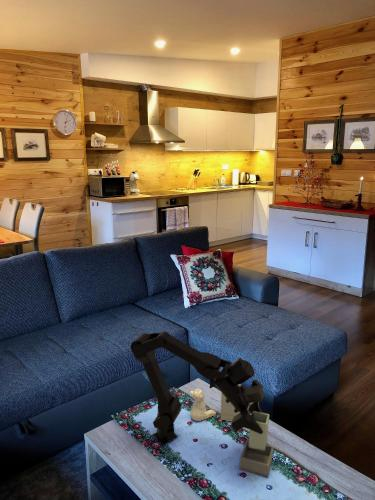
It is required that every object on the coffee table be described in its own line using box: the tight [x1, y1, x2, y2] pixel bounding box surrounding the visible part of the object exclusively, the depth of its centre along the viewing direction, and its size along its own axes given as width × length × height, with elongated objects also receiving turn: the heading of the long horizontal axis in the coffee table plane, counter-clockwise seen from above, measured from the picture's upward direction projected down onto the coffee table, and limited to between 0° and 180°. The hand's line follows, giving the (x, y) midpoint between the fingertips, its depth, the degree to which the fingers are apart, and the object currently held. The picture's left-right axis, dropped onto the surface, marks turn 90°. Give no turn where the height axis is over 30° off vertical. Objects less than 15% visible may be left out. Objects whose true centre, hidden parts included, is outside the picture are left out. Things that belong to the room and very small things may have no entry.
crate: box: [239, 438, 274, 479], centre depth 131 cm, size 9×9×4 cm
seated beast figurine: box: [190, 388, 217, 422], centre depth 153 cm, size 10×9×12 cm
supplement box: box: [220, 385, 240, 423], centre depth 153 cm, size 7×7×13 cm
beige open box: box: [248, 411, 270, 451], centre depth 130 cm, size 5×5×10 cm
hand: (263, 427), depth 129 cm, fingers closed on beige open box, 5 cm apart
